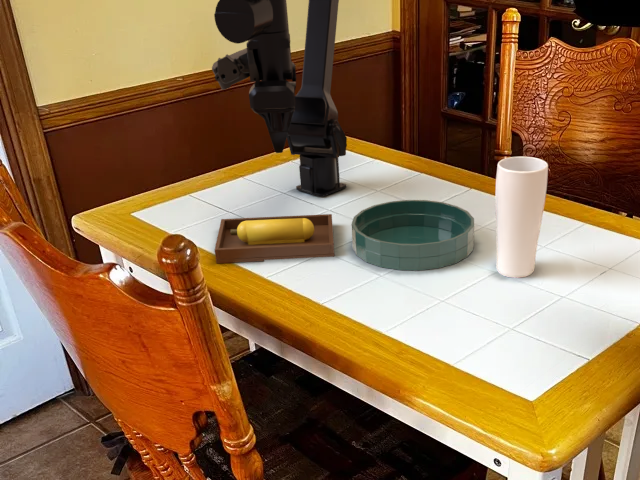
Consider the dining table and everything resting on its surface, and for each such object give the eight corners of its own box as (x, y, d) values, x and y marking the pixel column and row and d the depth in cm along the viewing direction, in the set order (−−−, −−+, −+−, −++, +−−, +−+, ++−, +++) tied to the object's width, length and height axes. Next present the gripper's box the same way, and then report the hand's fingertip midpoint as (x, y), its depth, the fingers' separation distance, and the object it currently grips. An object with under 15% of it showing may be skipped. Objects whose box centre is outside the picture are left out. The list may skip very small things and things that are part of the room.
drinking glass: (543, 265, 121) (553, 158, 112) (533, 284, 116) (543, 174, 106) (497, 259, 123) (503, 153, 113) (485, 278, 117) (491, 169, 108)
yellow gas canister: (315, 234, 129) (313, 214, 127) (315, 242, 127) (313, 222, 125) (233, 238, 129) (230, 218, 127) (231, 246, 126) (228, 225, 124)
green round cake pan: (405, 216, 137) (405, 191, 134) (496, 243, 127) (498, 217, 125) (328, 251, 126) (326, 225, 123) (422, 283, 117) (422, 255, 114)
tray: (332, 226, 133) (331, 213, 132) (334, 257, 124) (333, 244, 123) (223, 232, 132) (221, 218, 131) (216, 263, 123) (214, 249, 121)
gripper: (216, 19, 126) (231, 128, 135) (204, 44, 111) (221, 164, 121) (291, 17, 127) (300, 126, 136) (289, 42, 112) (299, 161, 121)
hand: (279, 143), depth 129 cm, fingers open, 9 cm apart
